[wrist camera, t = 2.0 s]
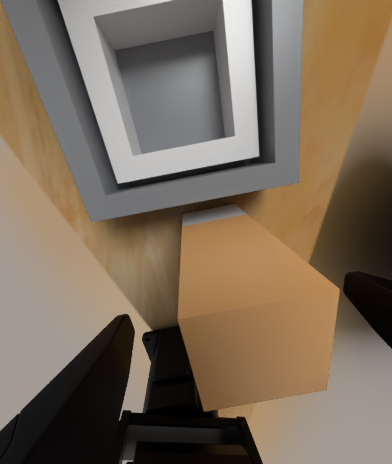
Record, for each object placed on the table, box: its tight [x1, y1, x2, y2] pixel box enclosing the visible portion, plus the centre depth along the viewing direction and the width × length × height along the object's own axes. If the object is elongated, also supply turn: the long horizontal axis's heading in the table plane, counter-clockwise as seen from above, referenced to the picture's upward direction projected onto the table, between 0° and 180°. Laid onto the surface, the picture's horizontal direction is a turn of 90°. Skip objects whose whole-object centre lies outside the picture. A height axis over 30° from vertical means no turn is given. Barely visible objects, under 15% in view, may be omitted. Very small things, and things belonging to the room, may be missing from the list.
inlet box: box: [1, 0, 303, 222], centre depth 9 cm, size 11×11×4 cm
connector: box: [178, 204, 340, 412], centre depth 10 cm, size 4×4×10 cm
